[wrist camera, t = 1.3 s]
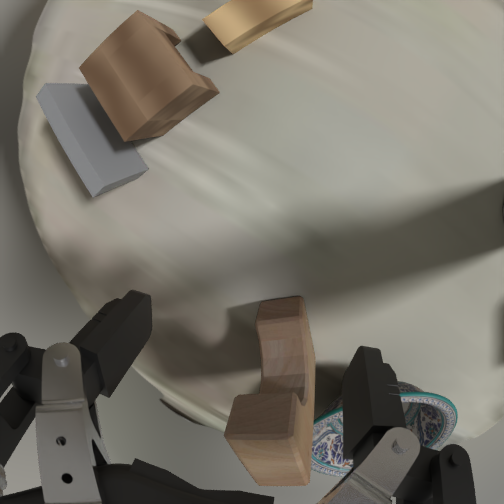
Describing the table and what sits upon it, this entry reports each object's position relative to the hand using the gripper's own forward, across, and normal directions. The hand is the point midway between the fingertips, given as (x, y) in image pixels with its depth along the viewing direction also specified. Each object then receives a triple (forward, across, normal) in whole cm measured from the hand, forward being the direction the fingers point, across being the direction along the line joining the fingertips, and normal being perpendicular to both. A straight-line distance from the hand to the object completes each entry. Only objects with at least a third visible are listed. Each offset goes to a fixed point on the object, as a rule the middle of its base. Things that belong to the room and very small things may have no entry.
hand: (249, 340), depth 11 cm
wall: (+23, +22, -4) cm, 32 cm away
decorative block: (+24, -4, +18) cm, 30 cm away
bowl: (+24, -21, +29) cm, 43 cm away
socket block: (+23, +15, -10) cm, 30 cm away
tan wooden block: (+24, +6, -19) cm, 31 cm away
